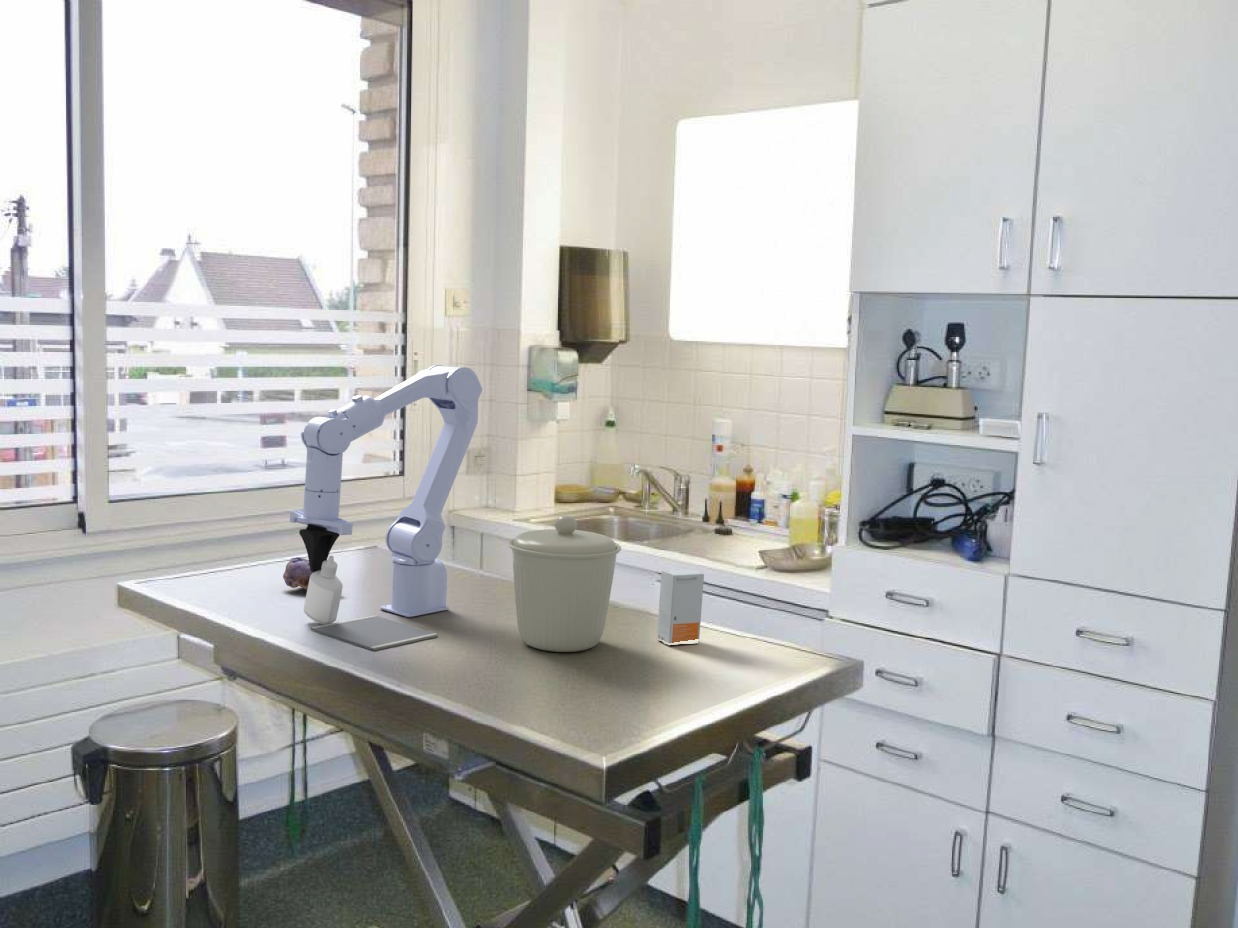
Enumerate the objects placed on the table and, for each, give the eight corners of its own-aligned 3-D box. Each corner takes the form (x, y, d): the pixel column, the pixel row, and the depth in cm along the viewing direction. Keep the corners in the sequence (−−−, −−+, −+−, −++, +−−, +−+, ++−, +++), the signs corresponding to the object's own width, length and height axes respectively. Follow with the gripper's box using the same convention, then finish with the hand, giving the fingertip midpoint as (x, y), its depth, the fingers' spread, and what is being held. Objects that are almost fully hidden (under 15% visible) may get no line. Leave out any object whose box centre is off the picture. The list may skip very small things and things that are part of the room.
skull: (349, 595, 207) (350, 562, 206) (316, 601, 200) (317, 568, 200) (308, 584, 213) (308, 553, 213) (274, 590, 207) (275, 558, 207)
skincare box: (669, 647, 181) (673, 575, 180) (656, 640, 185) (660, 570, 184) (700, 644, 184) (705, 573, 183) (687, 637, 188) (691, 568, 186)
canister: (639, 648, 180) (645, 519, 177) (556, 666, 167) (562, 528, 165) (563, 624, 192) (569, 504, 190) (481, 640, 179) (486, 511, 177)
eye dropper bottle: (313, 628, 182) (325, 567, 177) (300, 608, 186) (312, 548, 181) (338, 624, 185) (350, 565, 180) (325, 605, 189) (337, 546, 184)
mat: (375, 617, 190) (375, 615, 190) (437, 636, 180) (437, 633, 180) (311, 630, 180) (311, 627, 180) (373, 650, 170) (373, 647, 170)
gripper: (276, 485, 184) (271, 565, 185) (328, 496, 175) (323, 581, 176) (312, 484, 190) (307, 562, 191) (365, 495, 180) (359, 577, 181)
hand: (317, 571), depth 184 cm, fingers closed, pressing on eye dropper bottle
